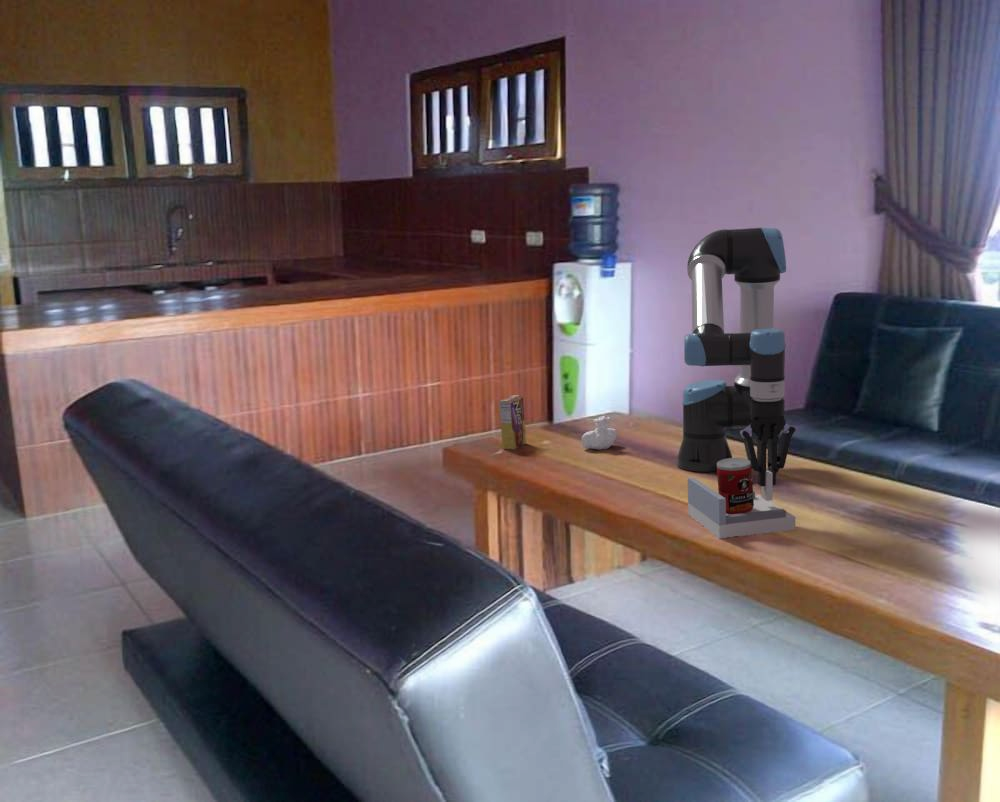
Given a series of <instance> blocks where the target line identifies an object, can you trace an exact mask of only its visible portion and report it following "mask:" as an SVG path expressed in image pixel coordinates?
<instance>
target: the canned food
mask: <svg viewBox="0 0 1000 802" xmlns="http://www.w3.org/2000/svg"><path fill="white" fill-rule="evenodd" d="M752 470H753V469H752V467H751V461H750V460H748V458H743V457H732V458H727V459H723V460H720V461H718V462H717V471H716V473H717V474H716V477H717V486H718V487H717V488H718V494H720V495H721V496H723V497H724V498H726V513H729V514H742V513H747V512H749V511H751V510H752V509H753V506H754V499H753V491H754V486H753V483H754V482H753V471H752Z"/></svg>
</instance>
